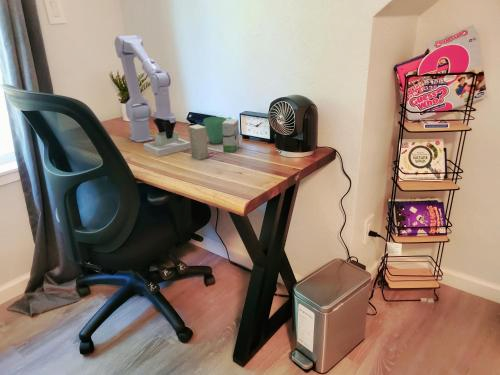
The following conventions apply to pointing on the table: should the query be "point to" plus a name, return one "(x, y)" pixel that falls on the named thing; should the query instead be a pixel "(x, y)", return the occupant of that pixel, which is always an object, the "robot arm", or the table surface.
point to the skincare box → (198, 141)
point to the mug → (214, 128)
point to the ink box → (230, 135)
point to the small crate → (165, 138)
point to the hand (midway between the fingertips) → (166, 137)
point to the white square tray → (167, 147)
